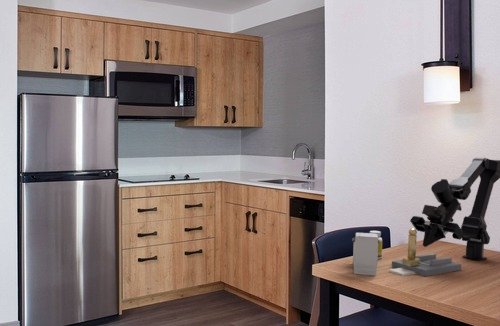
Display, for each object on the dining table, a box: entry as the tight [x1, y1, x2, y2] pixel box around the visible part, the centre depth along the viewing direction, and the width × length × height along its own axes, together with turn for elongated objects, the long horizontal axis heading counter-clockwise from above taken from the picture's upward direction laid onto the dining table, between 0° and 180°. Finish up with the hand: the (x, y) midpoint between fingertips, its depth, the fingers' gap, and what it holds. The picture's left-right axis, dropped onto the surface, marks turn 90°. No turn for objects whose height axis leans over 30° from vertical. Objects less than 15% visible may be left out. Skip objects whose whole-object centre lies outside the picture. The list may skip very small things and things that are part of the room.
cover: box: [388, 268, 416, 277], centre depth 181 cm, size 6×6×1 cm
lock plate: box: [391, 253, 462, 277], centre depth 188 cm, size 19×14×4 cm
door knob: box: [402, 227, 420, 266], centre depth 183 cm, size 5×3×12 cm, turn 124°
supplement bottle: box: [369, 230, 383, 260], centre depth 202 cm, size 5×5×10 cm
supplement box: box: [353, 232, 378, 277], centre depth 180 cm, size 7×7×13 cm
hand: (424, 245), depth 187 cm, fingers closed
